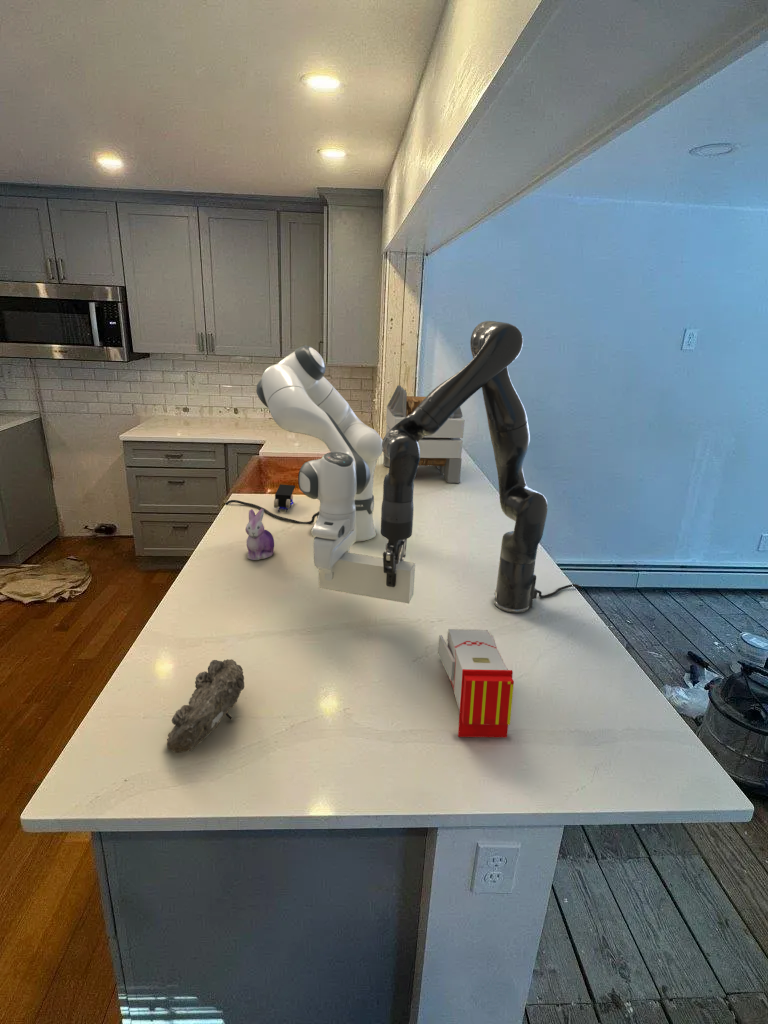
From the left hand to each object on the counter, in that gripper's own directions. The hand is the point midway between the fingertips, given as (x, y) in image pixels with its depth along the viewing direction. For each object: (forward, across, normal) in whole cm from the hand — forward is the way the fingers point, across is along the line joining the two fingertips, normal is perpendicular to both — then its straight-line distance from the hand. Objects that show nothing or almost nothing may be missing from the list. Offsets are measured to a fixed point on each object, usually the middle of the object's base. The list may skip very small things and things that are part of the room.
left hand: (336, 571), depth 142 cm
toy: (+12, +20, +38) cm, 44 cm away
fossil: (+12, +44, -8) cm, 47 cm away
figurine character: (+12, -68, -47) cm, 84 cm away
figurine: (+12, -25, -35) cm, 45 cm away
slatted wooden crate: (+12, -139, -10) cm, 140 cm away
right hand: (0, 0, +15) cm, 15 cm away
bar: (+4, 0, +8) cm, 9 cm away
